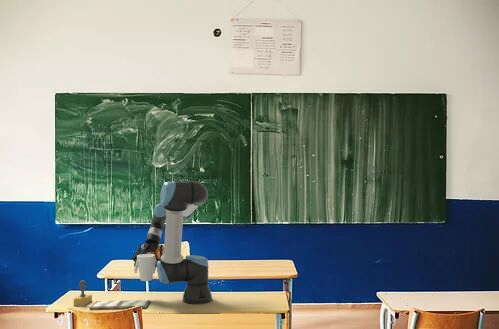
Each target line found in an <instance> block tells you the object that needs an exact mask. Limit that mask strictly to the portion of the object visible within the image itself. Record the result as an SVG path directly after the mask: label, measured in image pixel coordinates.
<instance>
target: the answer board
mask: <svg viewBox="0 0 499 329" xmlns="http://www.w3.org/2000/svg"><path fill="white" fill-rule="evenodd" d="M151 301H152V300H149V299H142V300H141V299H138V300H137V299H136V300H134V299H133V300H132V299H131V300H130V299H129V300H128V299H127V300H96V301H94V303H93V304H92V305H91V306H90V307H89V311H92V310H93V311H94V310H95V311H96V310H97V311H99V310H105V311H106V310H107V311H108V310H129V309H128V308H132V307H135V306H141V307H142V309H141V310H147V309H148V307H149V305H150V304H151Z"/></svg>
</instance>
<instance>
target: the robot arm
mask: <svg viewBox="0 0 499 329" xmlns="http://www.w3.org/2000/svg"><path fill="white" fill-rule="evenodd" d="M208 198H209V191H208V189H207V187H206V186H205V185H204V184H203V183H201V182H199V181H196V180H195V181H194V180H190V181H188V180H186V181H185V180H183V181H166V182H164V183H163V185H162V187H161V190H160V195H159V202H160V203H158V204H157V205H155V207H154V210H153V215H152V217H151V220H150V221H151V222H150V226H149V227H148V228H149V230H148V232H147V236H146V239H145V243H144V244H138V248H137V249H136V251H135V252H134V254H133V255H132V261H133V262H134V264H133V266H134V267H133V268H134V269H133V272H134V273H135V274H137V272H138V271H139V266H138V261H137V255H141V254H149V253H154V255H155V261H154V265H153V268H152V272H153V274H155V273H157V277H158V280H159V282H160V283H161V284H175V283H185V288H184V293H183V294H182V302H184V303H185V304H193V305H199V304H200V305H201V304H206V303H207V304H208V303H210V302H212V301H213V294H212V292H211V289H210V286H209V260H208V258H207V257H205V256H203V255H202V256H201V255H195V254H192V255H191V254H189V255H186V256H185V258H184V256H183V255H182V240H183V238H182V237H183V225H184V220H190V219H193V218H194V215H195V213H194V212H195V210H196V209H197V208H198V207H199V206H203V205H204V204H205V203H206V202H207V200H208ZM164 228H165V230H164ZM163 231H164V245H163V244H160V242H161V238H162V234H163ZM158 249H159V256H158V253H157V250H158Z"/></svg>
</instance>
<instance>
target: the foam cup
mask: <svg viewBox="0 0 499 329" xmlns="http://www.w3.org/2000/svg"><path fill="white" fill-rule="evenodd" d="M155 260H156V257H155V254H153V253H147V254H141V255H137V261H138V271H139V272H138V274H139V279H140V281H141V282H149V281H152V280H153V278H154V273H153V272H152V268H153V265H154V261H155Z"/></svg>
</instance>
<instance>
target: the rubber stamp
mask: <svg viewBox="0 0 499 329" xmlns="http://www.w3.org/2000/svg"><path fill="white" fill-rule="evenodd" d="M86 286H87V282H86V281H85V280H80V281H79V283H78V287H79V289H80V292H81V293H80V294H79V295H78V296H76V297H74V298H73V307H74V306H78V307H85V306H87V305H88V304H89V303H91V302H93V294H92V293H85V289H86Z"/></svg>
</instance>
